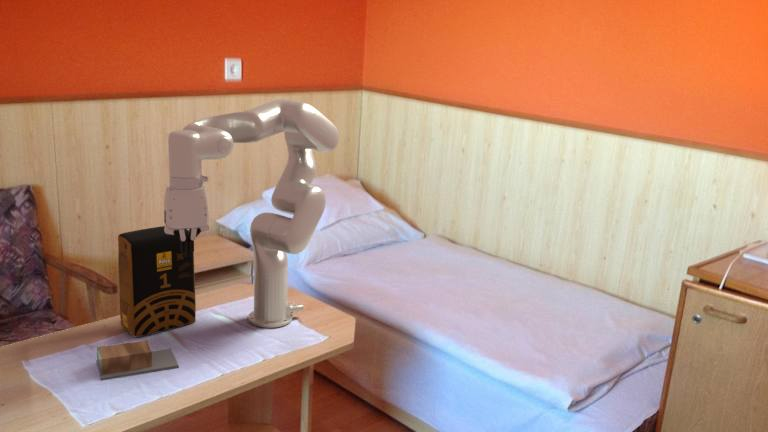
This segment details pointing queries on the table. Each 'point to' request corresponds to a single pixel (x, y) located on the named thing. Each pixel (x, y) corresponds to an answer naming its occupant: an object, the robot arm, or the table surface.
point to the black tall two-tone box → (155, 282)
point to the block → (124, 357)
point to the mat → (159, 362)
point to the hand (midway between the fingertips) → (187, 254)
